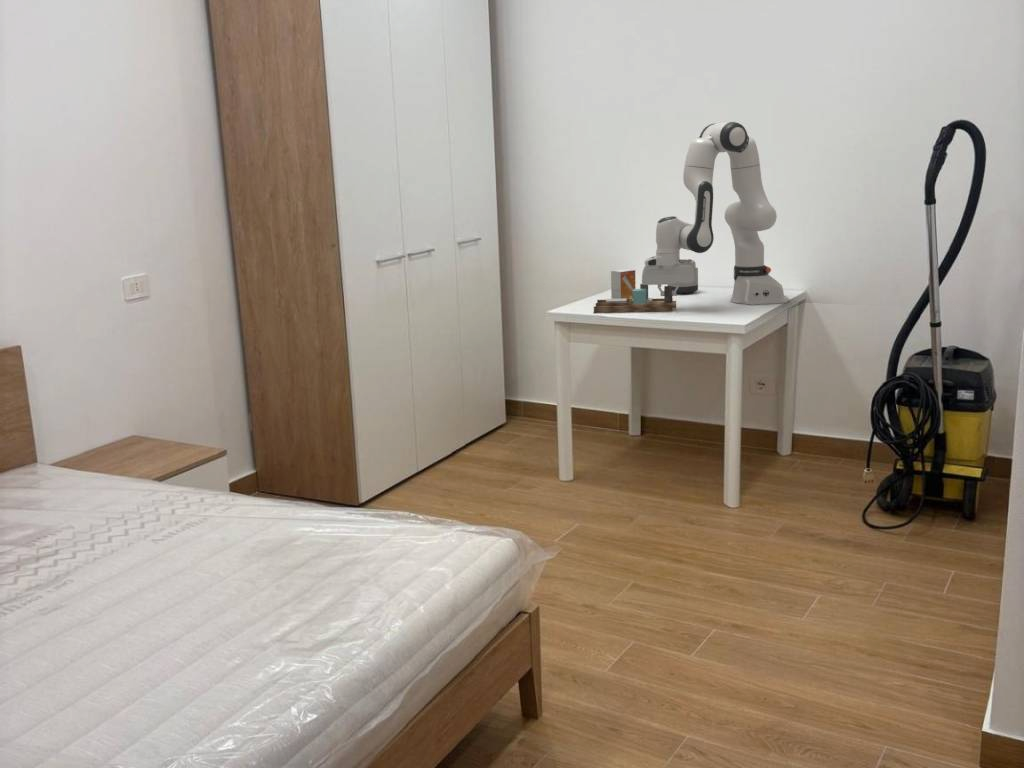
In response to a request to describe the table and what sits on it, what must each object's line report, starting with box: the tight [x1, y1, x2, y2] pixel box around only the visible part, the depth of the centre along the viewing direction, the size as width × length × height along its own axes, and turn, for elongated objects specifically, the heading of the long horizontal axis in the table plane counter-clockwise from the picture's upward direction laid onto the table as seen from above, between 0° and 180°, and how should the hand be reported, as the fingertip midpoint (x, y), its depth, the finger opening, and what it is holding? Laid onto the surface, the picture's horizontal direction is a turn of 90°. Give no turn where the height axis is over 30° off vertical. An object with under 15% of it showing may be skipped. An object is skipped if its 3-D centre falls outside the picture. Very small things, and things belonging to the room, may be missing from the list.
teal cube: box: [633, 288, 646, 304], centre depth 380 cm, size 5×5×5 cm
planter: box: [666, 266, 699, 295], centre depth 417 cm, size 13×13×10 cm
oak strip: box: [629, 285, 677, 309], centre depth 379 cm, size 18×6×8 cm, turn 80°
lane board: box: [593, 297, 674, 314], centre depth 385 cm, size 30×17×2 cm, turn 80°
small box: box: [610, 268, 637, 299], centre depth 402 cm, size 8×6×13 cm
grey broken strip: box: [605, 283, 653, 303], centre depth 389 cm, size 18×6×8 cm, turn 80°
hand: (668, 295), depth 378 cm, fingers closed on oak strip, 3 cm apart
